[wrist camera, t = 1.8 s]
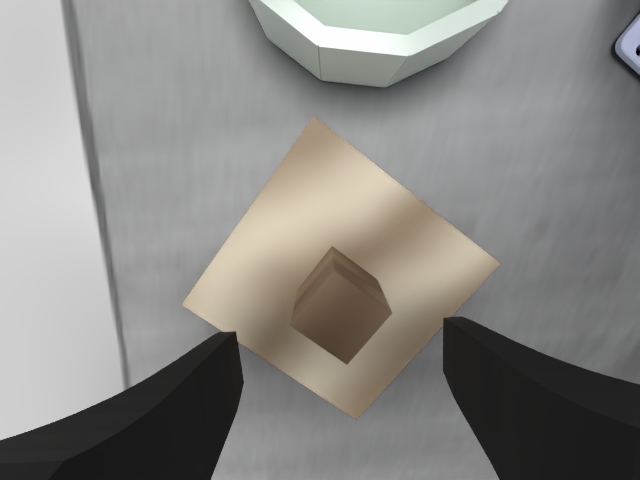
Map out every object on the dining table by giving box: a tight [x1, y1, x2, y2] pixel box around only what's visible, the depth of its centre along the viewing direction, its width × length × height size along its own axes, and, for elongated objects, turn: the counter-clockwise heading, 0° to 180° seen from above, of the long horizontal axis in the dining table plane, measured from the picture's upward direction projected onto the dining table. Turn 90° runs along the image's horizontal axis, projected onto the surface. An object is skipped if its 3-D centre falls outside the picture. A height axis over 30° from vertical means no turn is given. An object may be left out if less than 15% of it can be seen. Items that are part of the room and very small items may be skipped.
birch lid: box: [182, 117, 500, 419], centre depth 16 cm, size 12×12×5 cm
